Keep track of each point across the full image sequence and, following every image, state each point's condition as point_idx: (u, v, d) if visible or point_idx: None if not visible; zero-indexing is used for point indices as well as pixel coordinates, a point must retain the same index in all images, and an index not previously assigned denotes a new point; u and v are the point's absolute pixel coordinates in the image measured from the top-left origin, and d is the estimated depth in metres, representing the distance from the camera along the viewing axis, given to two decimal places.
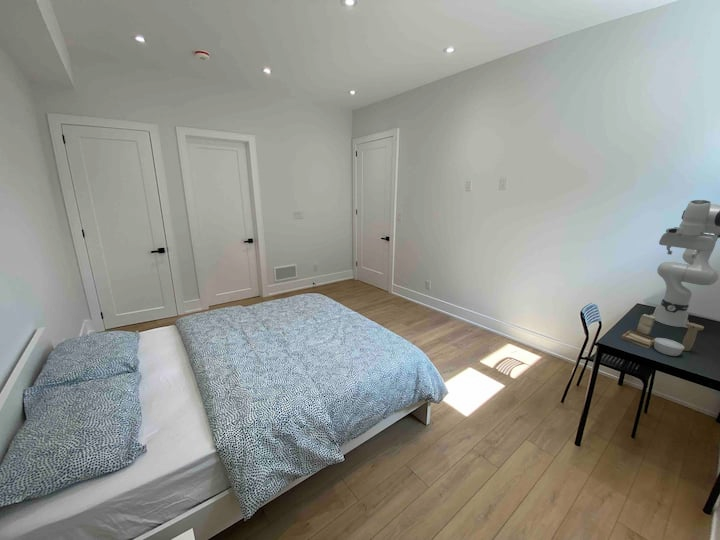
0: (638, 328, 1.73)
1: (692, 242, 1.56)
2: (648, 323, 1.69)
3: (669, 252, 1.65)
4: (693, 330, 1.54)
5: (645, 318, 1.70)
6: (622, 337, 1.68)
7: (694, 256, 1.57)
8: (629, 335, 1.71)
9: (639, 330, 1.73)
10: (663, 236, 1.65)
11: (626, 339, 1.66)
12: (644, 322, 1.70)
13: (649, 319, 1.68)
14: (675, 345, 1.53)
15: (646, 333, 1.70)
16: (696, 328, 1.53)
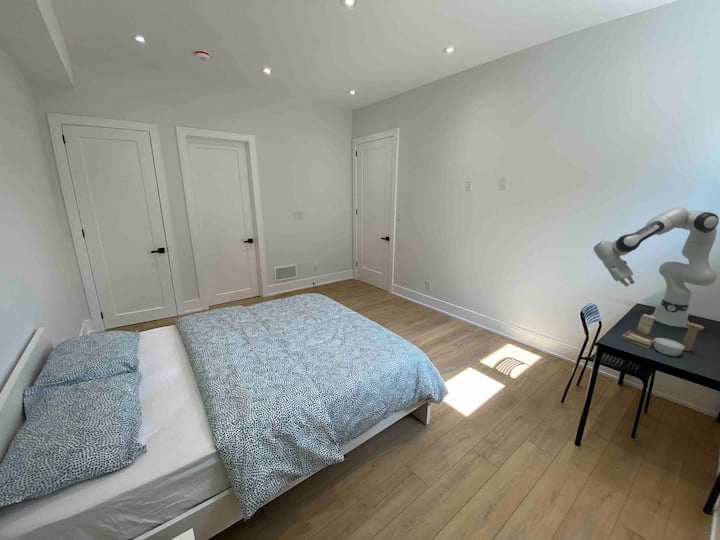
0: (638, 328, 1.73)
1: None
2: (648, 323, 1.69)
3: None
4: (693, 330, 1.54)
5: (645, 318, 1.70)
6: (622, 337, 1.68)
7: None
8: (629, 335, 1.71)
9: (639, 330, 1.73)
10: None
11: (626, 339, 1.66)
12: (644, 322, 1.70)
13: (649, 319, 1.68)
14: (675, 345, 1.53)
15: (646, 333, 1.70)
16: (696, 328, 1.53)
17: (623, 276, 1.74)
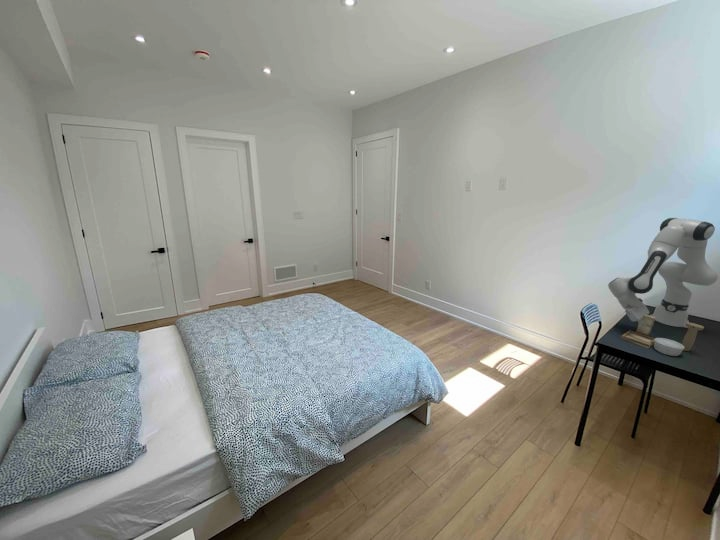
0: (638, 328, 1.73)
1: None
2: (648, 323, 1.69)
3: None
4: (693, 330, 1.54)
5: (645, 318, 1.70)
6: (622, 337, 1.68)
7: None
8: (629, 335, 1.71)
9: (639, 330, 1.73)
10: None
11: (626, 339, 1.66)
12: None
13: (649, 319, 1.68)
14: (675, 345, 1.53)
15: (646, 333, 1.70)
16: (696, 328, 1.53)
17: (639, 316, 1.69)
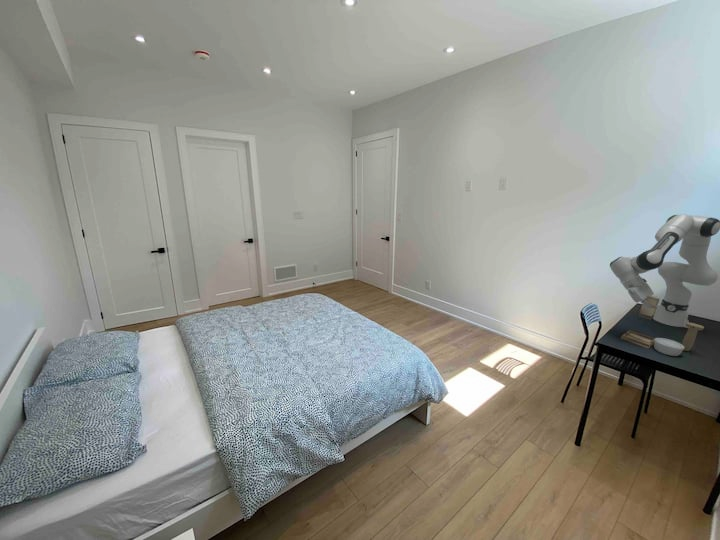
0: (641, 309, 1.62)
1: None
2: (652, 304, 1.58)
3: None
4: (693, 330, 1.54)
5: (649, 298, 1.59)
6: (622, 337, 1.68)
7: None
8: (629, 335, 1.71)
9: (643, 312, 1.62)
10: None
11: (626, 339, 1.66)
12: None
13: (653, 300, 1.58)
14: (675, 345, 1.53)
15: (650, 315, 1.59)
16: (696, 328, 1.53)
17: (643, 297, 1.58)
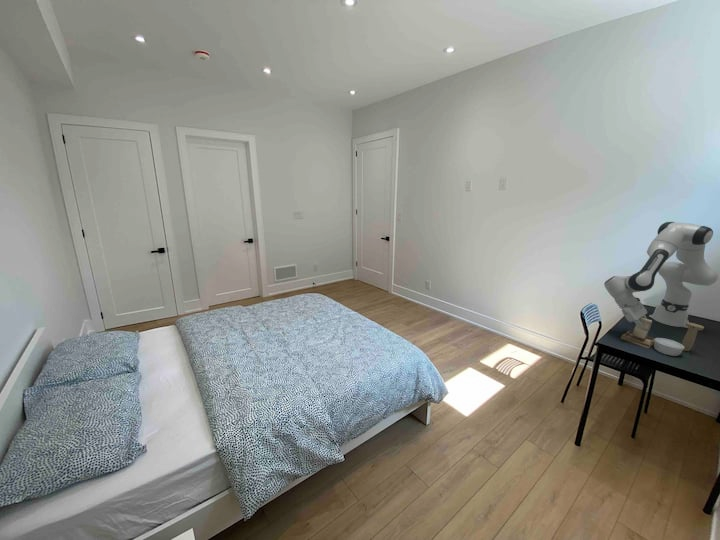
0: (634, 332, 1.66)
1: None
2: (645, 327, 1.62)
3: None
4: (693, 330, 1.54)
5: (642, 321, 1.63)
6: (622, 337, 1.68)
7: None
8: (629, 335, 1.71)
9: (635, 334, 1.66)
10: None
11: (626, 339, 1.66)
12: None
13: (645, 323, 1.62)
14: (675, 345, 1.53)
15: (643, 337, 1.63)
16: (696, 328, 1.53)
17: (637, 317, 1.61)
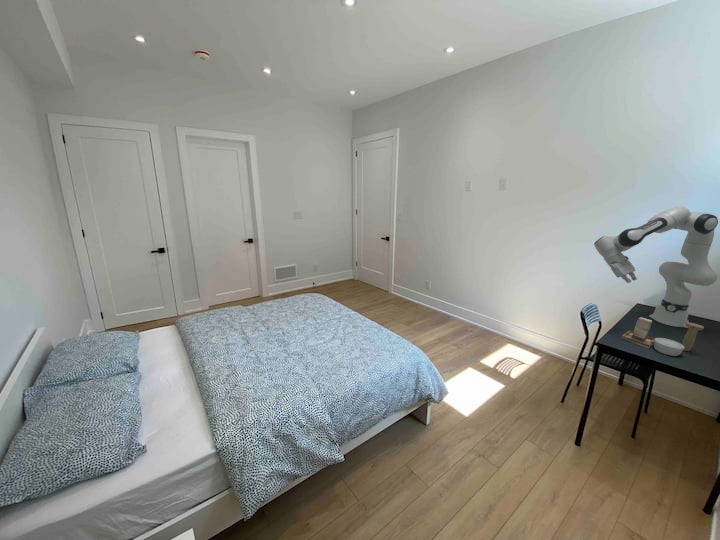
0: (634, 332, 1.66)
1: None
2: (645, 327, 1.62)
3: None
4: (693, 330, 1.54)
5: (642, 321, 1.63)
6: (622, 337, 1.68)
7: None
8: (629, 335, 1.71)
9: (635, 334, 1.66)
10: None
11: (626, 339, 1.66)
12: (640, 325, 1.63)
13: (645, 323, 1.62)
14: (675, 345, 1.53)
15: (643, 337, 1.63)
16: (696, 328, 1.53)
17: (624, 272, 1.68)
